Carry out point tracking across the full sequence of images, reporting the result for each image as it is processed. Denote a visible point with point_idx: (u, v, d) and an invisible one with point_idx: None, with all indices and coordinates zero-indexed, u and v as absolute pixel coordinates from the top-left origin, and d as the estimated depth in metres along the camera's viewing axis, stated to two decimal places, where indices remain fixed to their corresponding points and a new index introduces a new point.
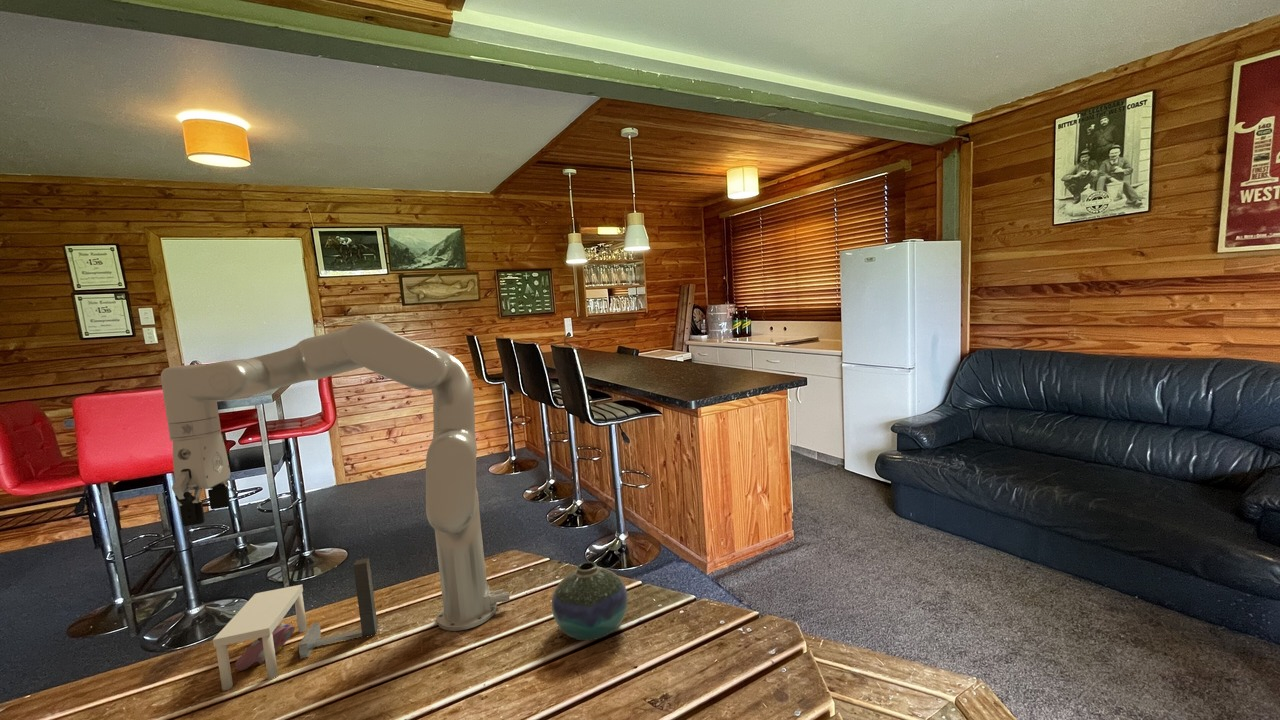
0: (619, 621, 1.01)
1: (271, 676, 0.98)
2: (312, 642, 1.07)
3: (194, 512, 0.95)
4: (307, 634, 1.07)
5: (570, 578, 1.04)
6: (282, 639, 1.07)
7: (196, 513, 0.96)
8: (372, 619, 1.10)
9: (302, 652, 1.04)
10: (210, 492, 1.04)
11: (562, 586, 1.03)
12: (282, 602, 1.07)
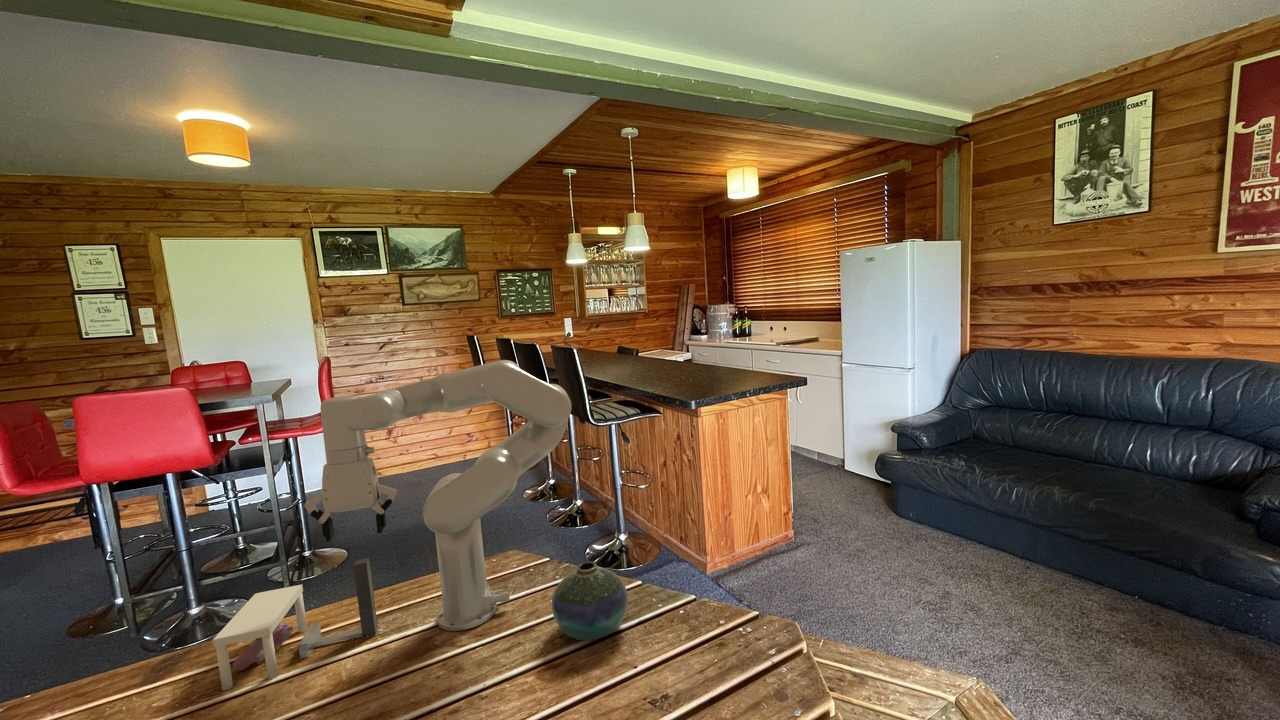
0: (619, 621, 1.01)
1: (271, 676, 0.98)
2: (312, 642, 1.07)
3: None
4: (307, 634, 1.07)
5: (570, 578, 1.04)
6: (280, 639, 1.07)
7: None
8: (372, 619, 1.10)
9: (302, 652, 1.04)
10: (328, 524, 1.07)
11: (562, 586, 1.03)
12: (282, 602, 1.07)
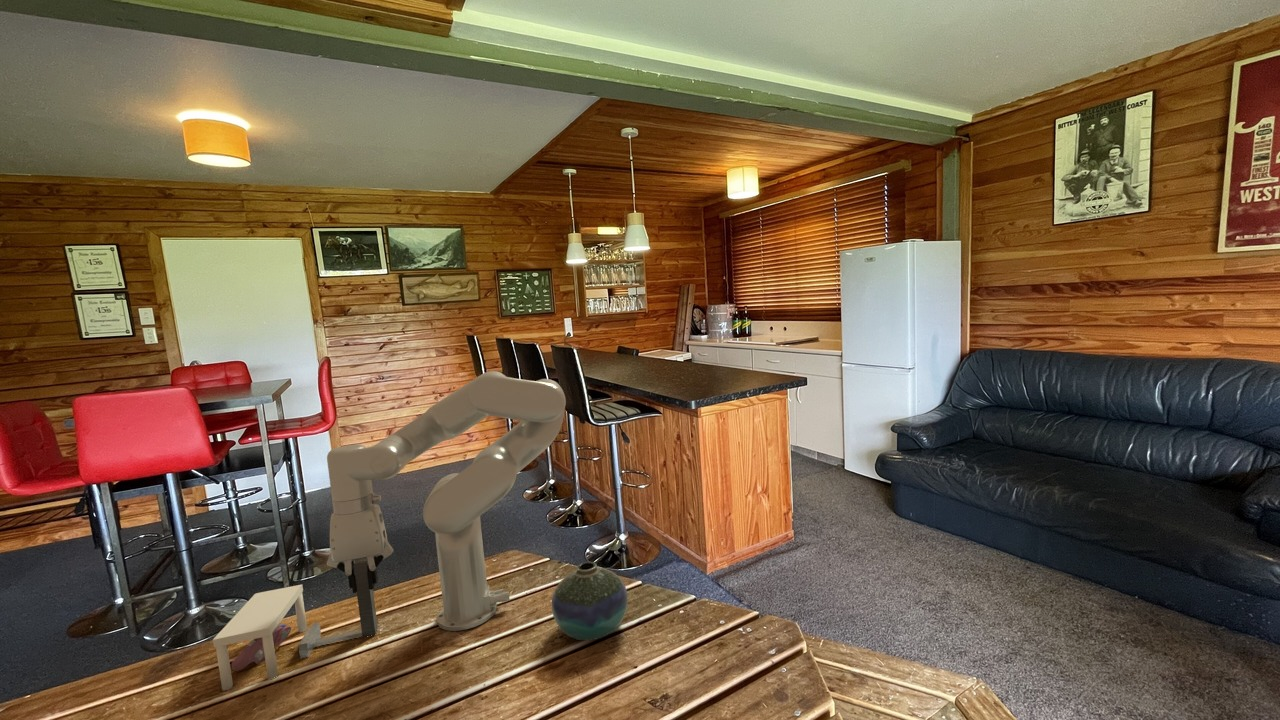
0: (619, 621, 1.01)
1: (271, 676, 0.98)
2: (312, 642, 1.07)
3: None
4: (307, 634, 1.07)
5: (570, 578, 1.04)
6: (278, 639, 1.07)
7: None
8: (372, 619, 1.10)
9: (302, 652, 1.04)
10: None
11: (562, 586, 1.03)
12: (282, 602, 1.07)
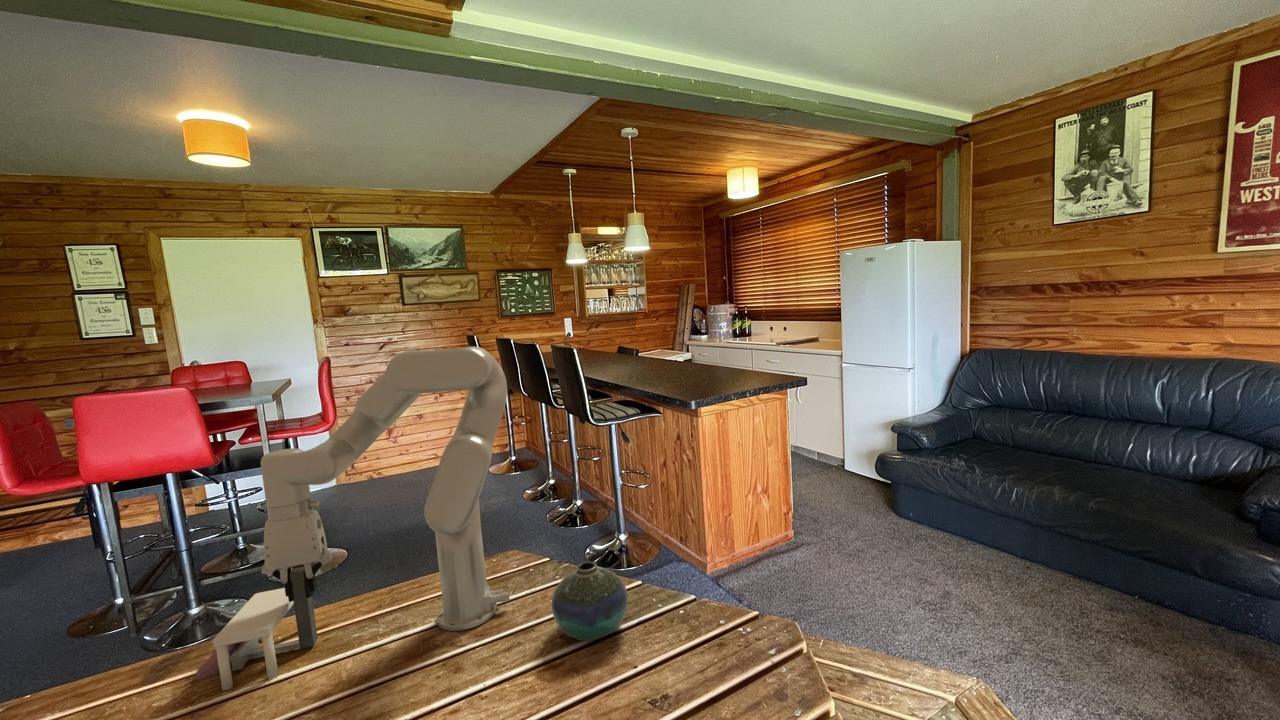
0: (619, 621, 1.01)
1: (271, 676, 0.98)
2: (246, 653, 1.04)
3: None
4: (242, 645, 1.04)
5: (570, 578, 1.04)
6: None
7: None
8: (310, 629, 1.07)
9: (234, 663, 1.01)
10: None
11: (562, 586, 1.03)
12: (282, 602, 1.07)
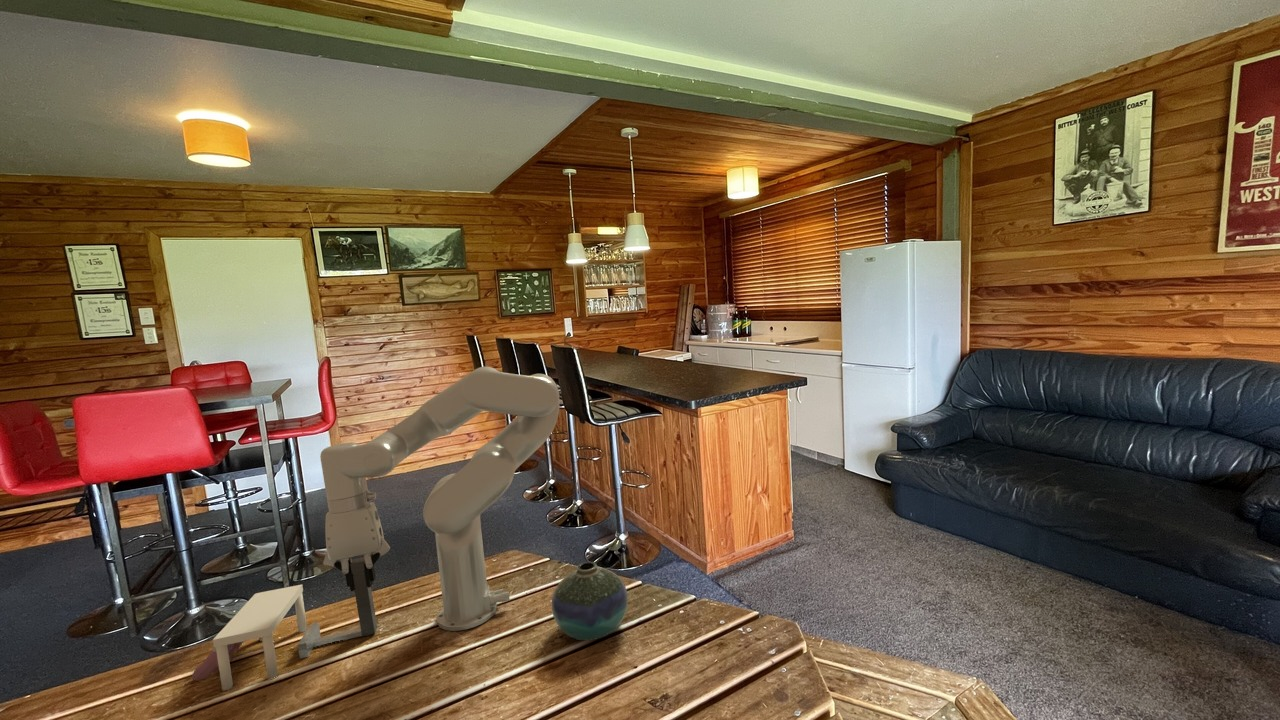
0: (619, 621, 1.01)
1: (271, 676, 0.98)
2: (311, 642, 1.07)
3: None
4: (306, 634, 1.07)
5: (570, 578, 1.04)
6: (238, 644, 1.06)
7: None
8: (371, 617, 1.10)
9: (301, 652, 1.04)
10: None
11: (562, 586, 1.03)
12: (282, 602, 1.07)
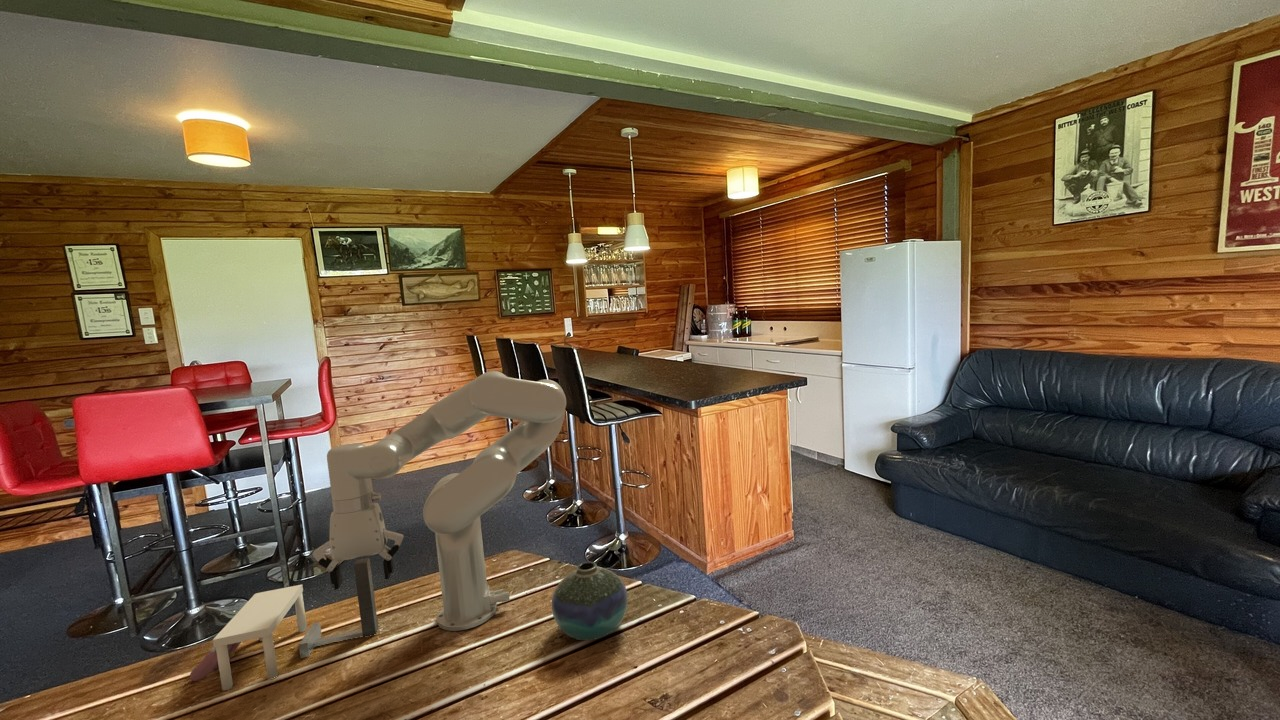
0: (619, 621, 1.01)
1: (271, 676, 0.98)
2: (312, 642, 1.07)
3: None
4: (307, 634, 1.07)
5: (570, 578, 1.04)
6: (235, 645, 1.06)
7: None
8: (372, 619, 1.10)
9: (303, 651, 1.04)
10: (336, 572, 1.08)
11: (562, 586, 1.03)
12: (282, 602, 1.07)
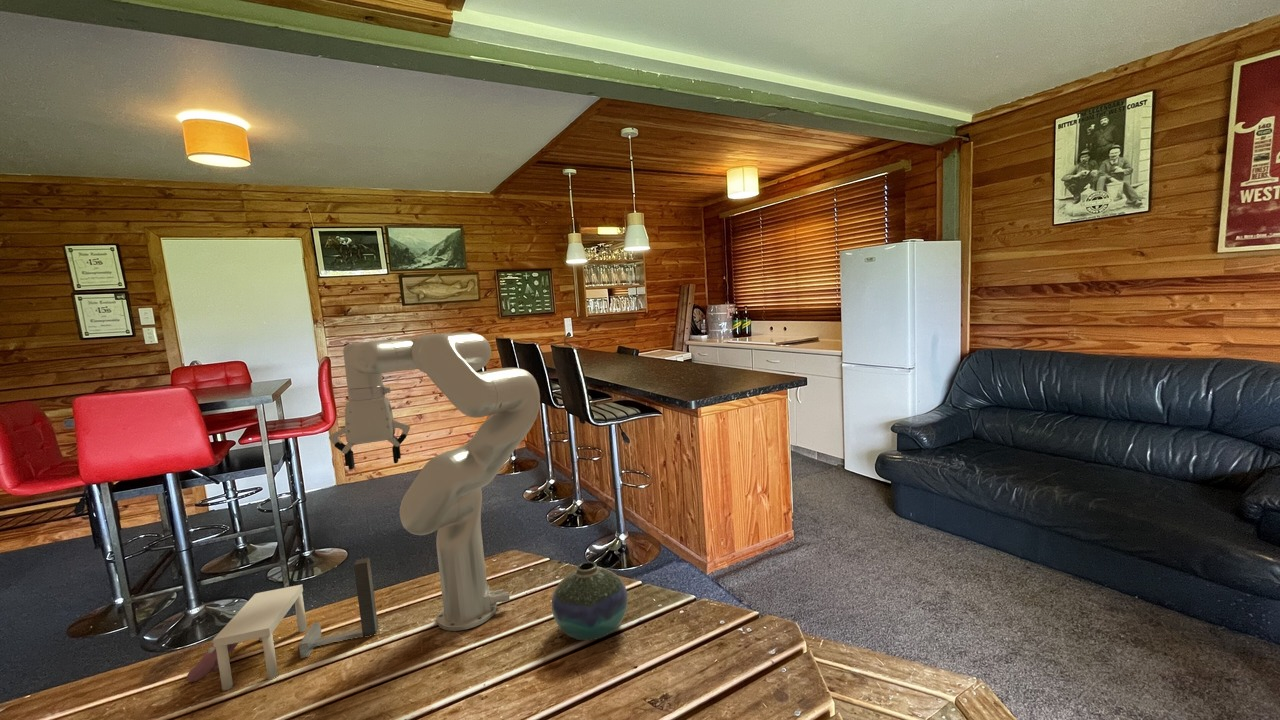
0: (619, 621, 1.01)
1: (271, 676, 0.98)
2: (312, 642, 1.07)
3: None
4: (307, 634, 1.07)
5: (570, 578, 1.04)
6: (233, 645, 1.06)
7: None
8: (372, 619, 1.10)
9: (303, 651, 1.04)
10: (350, 454, 1.21)
11: (562, 586, 1.03)
12: (282, 602, 1.07)
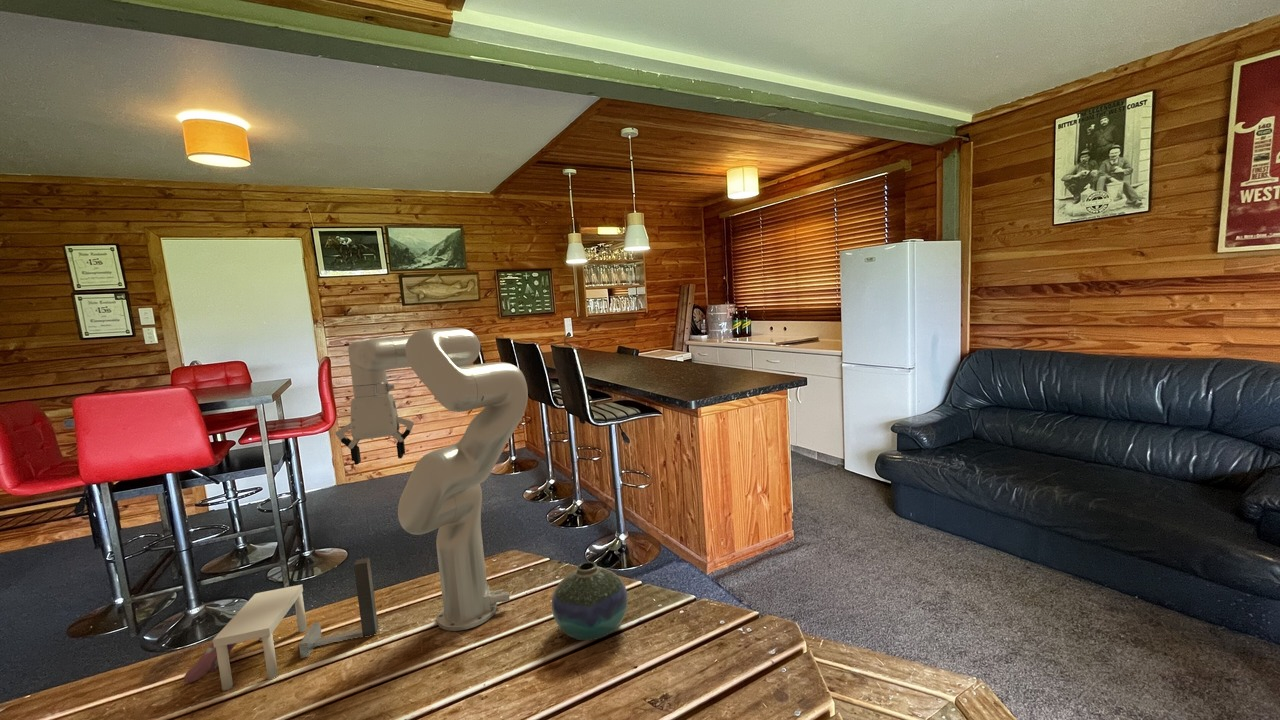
0: (619, 621, 1.01)
1: (271, 676, 0.98)
2: (312, 642, 1.07)
3: None
4: (307, 634, 1.07)
5: (570, 578, 1.04)
6: (231, 646, 1.06)
7: None
8: (372, 619, 1.10)
9: (303, 651, 1.04)
10: (356, 449, 1.25)
11: (562, 586, 1.03)
12: (282, 602, 1.07)
